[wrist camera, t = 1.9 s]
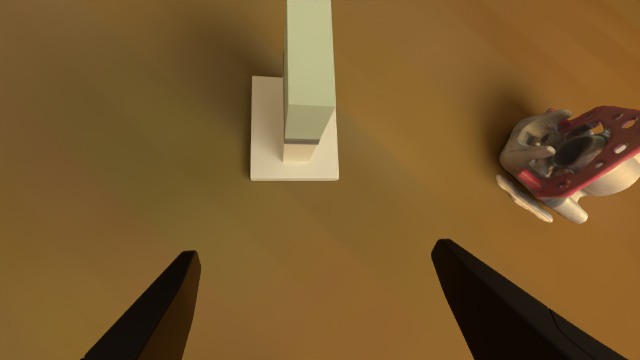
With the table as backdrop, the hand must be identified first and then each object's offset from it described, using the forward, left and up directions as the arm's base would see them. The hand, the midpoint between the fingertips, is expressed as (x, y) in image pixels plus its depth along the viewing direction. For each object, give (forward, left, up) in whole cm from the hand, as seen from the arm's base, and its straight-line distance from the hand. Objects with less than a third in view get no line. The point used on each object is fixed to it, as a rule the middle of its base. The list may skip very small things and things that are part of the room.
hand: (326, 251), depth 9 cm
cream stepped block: (+7, +7, -14) cm, 17 cm away
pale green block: (+7, +7, -7) cm, 13 cm away
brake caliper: (+24, -14, -14) cm, 31 cm away
